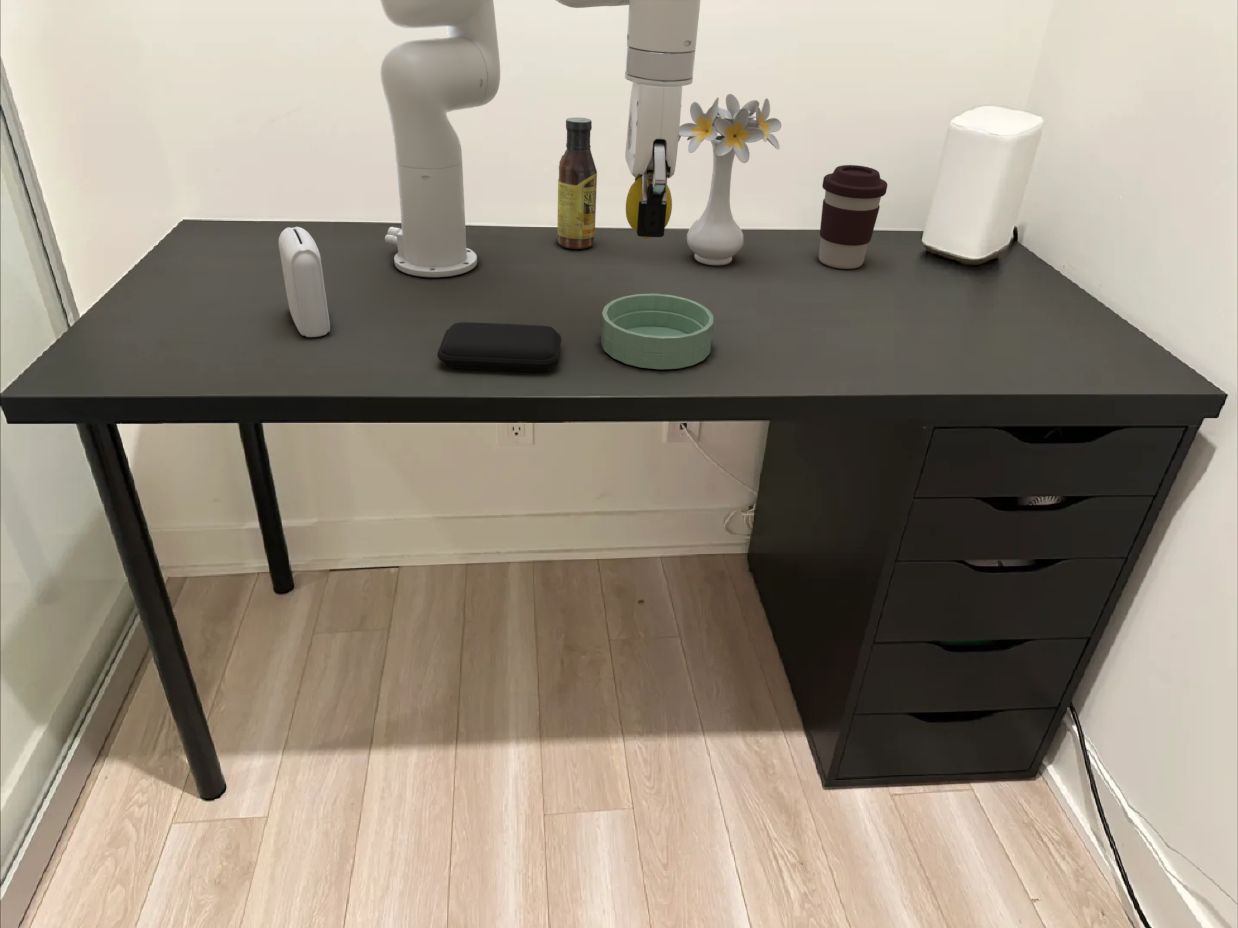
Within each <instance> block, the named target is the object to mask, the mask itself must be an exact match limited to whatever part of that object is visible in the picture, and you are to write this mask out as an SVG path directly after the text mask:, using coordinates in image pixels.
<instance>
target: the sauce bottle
mask: <svg viewBox="0 0 1238 928" xmlns="http://www.w3.org/2000/svg"><path fill="white" fill-rule="evenodd" d="M592 122H593V121H592V119H590V118H586V117H568V118H566V119H565V129H566V143H565V147H566V149H565V151H564V153H563V154H562V155H561V157H560V159H559V162H558V163H559V165H558V180H557V225H556V226H557V228H556V229H557V242H558V245H560V246H561V247H562V248H566V249H572V250H582V249H583V250H584V249H588V248H591V247H592V246H593V245H594V242H595V241H594V239H595V236H596V213H597V186H598V171H597V168H596V164H595V160H594V157H593V154H592V150H591V131H592V129H593V127H592Z"/></svg>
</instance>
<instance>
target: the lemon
mask: <svg viewBox="0 0 1238 928" xmlns="http://www.w3.org/2000/svg"><path fill="white" fill-rule="evenodd" d="M647 175H653V173H648V174H647ZM649 184H652V181H648V187H649ZM639 201H642V177H640V178H638V179H637V180H636V181H635V180H634V182H633V183H632V184H631V185H630V187H629V190H628V192H627V196H626V200H625V217H626V221H627V223H628V225H629V226H630V228H631V229H632V230H633V231H634V232H635V233H637V221H638V207H639ZM666 203H667V207H666V219H665V228H666V227H667V225H668V224H669V221H670V219H671V215H672V209H673V198H672V193H671V189H670V187H669V185H668V184H667V197H666ZM642 238H643V239H644V240H649V239H650V238H651V237H642Z"/></svg>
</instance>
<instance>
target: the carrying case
mask: <svg viewBox="0 0 1238 928" xmlns="http://www.w3.org/2000/svg"><path fill="white" fill-rule="evenodd" d="M561 345H562V336H561V334H560V333H559V332H557V330H556V329H555V328H554V327H552V326H549V325H541V324H540V325H539V324H523V323H521V324H520V323H500V322H499V323H498V322H470V321H461V322H459V321H458V322H454V323H453V324H452V325H450V326H449V328H447V330H446V331H445V333H444V335H443V338H442V339H441V343H440V345H439V348H438V350H437V353H436V355H437V358H438V360H439V361H440V362H442V363H443V365H445V366H446V367H449V368H452V369H462V370H463V369H465V370H485V371H486V370H487V371H506V372H507V371H510V372H537V373H538V372H541V373H542V372H548V371H550V370H551V369H552V368H553V367H555V366H556V365H557V364H558V362H559V360H560V352H561Z"/></svg>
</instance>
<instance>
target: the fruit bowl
mask: <svg viewBox="0 0 1238 928" xmlns="http://www.w3.org/2000/svg"><path fill="white" fill-rule="evenodd" d="M714 318H715V316H714V315H713V313H712V312H711V310H710V309H709V308H707V307H706V306H704V305H703V304H701V303H700V302H697V301H694V300H692V299H689V298H686V297H681V296H677V295H672V294H664V293H663V294H661V293H637V294H631V295H625V296H622V297H621V296H620V297H618V298H616V299H613V300H611V301H609V302H608V303H607V304H606V305H604V307H603V310H602V312H601V333H600V344H601V347H602V349H603V351H604V352H605V353H606V354H607V355H608V356H609V357H611V358H612V359H615V360H616V361H619V362H621V363H623V364H625V365H629V366H633V367H636V368H642V369H650V370H651V369H652V370H677V369H683V368H687V367H692V366H694V365H697V364H698V363H701V362H703V361H705V359H706V358H707V357H708V356H709V355H710V353H711V347H712V337H713V330H714V329H713V328H714Z"/></svg>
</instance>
